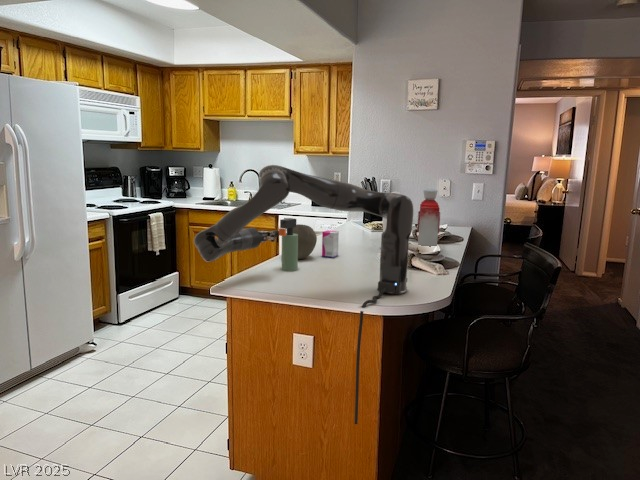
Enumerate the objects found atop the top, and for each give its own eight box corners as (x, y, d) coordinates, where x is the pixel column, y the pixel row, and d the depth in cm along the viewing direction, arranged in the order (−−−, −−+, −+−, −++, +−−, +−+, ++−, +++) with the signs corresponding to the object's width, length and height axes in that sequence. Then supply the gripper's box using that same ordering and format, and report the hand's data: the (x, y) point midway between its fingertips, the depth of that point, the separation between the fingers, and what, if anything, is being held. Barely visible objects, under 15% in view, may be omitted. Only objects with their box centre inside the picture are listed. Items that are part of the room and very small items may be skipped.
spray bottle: (287, 272, 189) (288, 221, 185) (275, 269, 193) (275, 219, 189) (300, 268, 195) (301, 219, 191) (288, 266, 199) (289, 217, 195)
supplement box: (338, 255, 221) (339, 231, 219) (333, 258, 215) (334, 232, 213) (326, 254, 223) (327, 229, 221) (321, 257, 218) (322, 231, 216)
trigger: (283, 236, 187) (283, 229, 187) (278, 235, 189) (278, 228, 188) (285, 235, 188) (285, 229, 188) (280, 235, 190) (280, 228, 189)
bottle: (438, 255, 225) (442, 190, 220) (415, 254, 227) (419, 190, 222) (437, 249, 239) (441, 188, 234) (416, 248, 241) (419, 187, 236)
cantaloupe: (312, 262, 206) (313, 227, 203) (280, 260, 209) (280, 226, 206) (319, 256, 220) (319, 223, 217) (288, 254, 222) (289, 221, 220)
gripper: (258, 231, 168) (290, 225, 181) (231, 226, 176) (264, 221, 189) (258, 252, 169) (290, 245, 183) (231, 247, 177) (265, 240, 191)
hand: (277, 233), depth 186 cm, fingers closed
